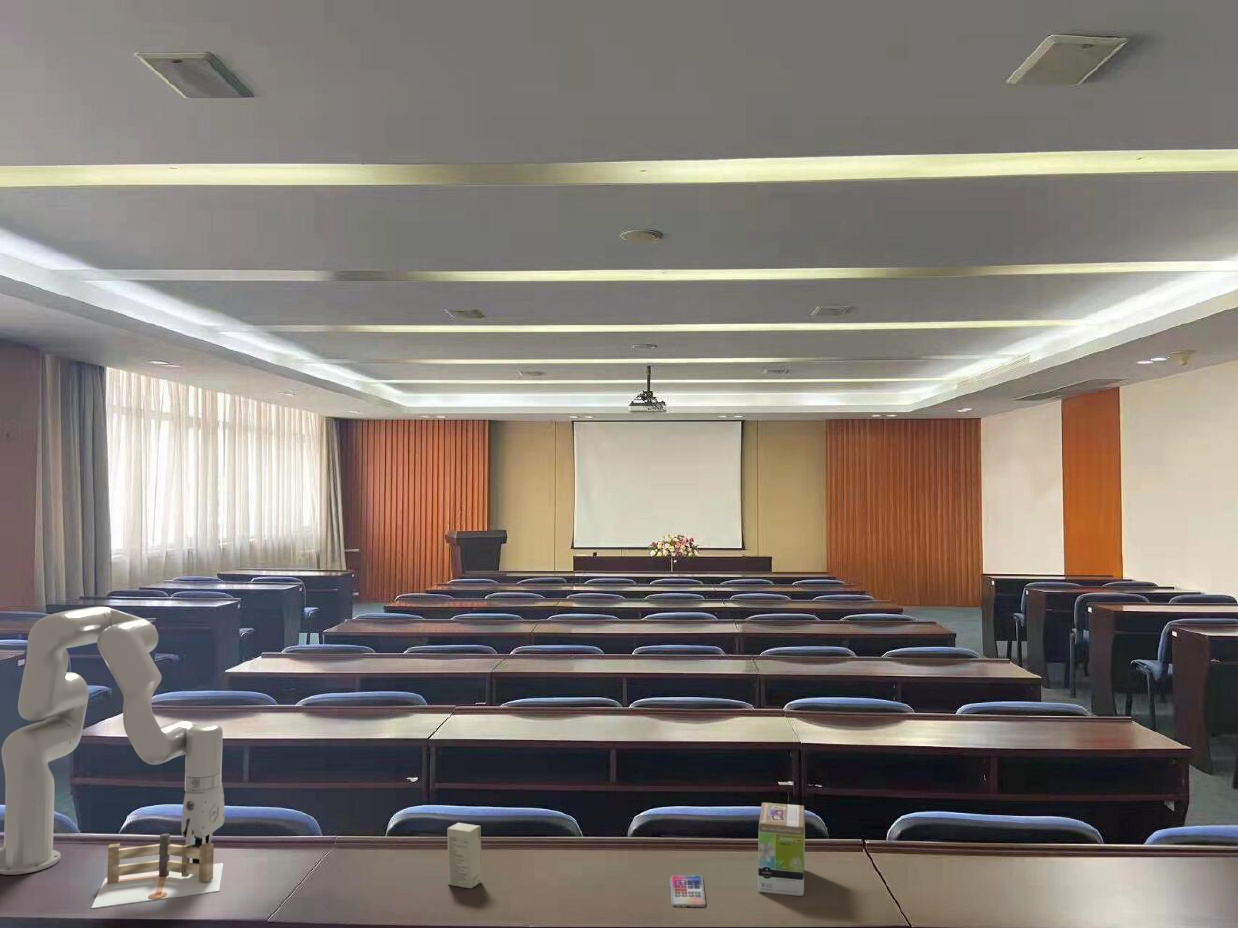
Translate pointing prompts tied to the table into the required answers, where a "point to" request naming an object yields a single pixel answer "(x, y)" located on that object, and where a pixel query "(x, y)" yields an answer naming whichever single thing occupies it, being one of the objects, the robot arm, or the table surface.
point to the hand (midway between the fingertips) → (201, 863)
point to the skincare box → (464, 855)
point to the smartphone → (687, 891)
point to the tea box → (781, 849)
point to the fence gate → (186, 867)
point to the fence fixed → (141, 867)
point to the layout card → (155, 887)
